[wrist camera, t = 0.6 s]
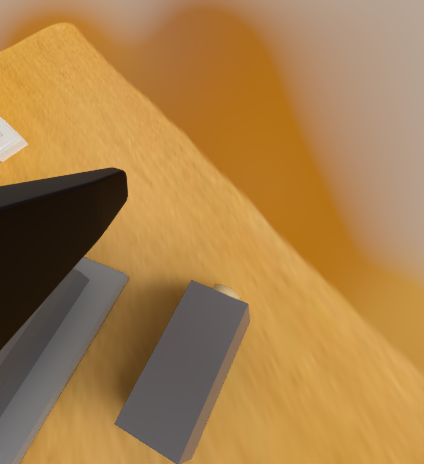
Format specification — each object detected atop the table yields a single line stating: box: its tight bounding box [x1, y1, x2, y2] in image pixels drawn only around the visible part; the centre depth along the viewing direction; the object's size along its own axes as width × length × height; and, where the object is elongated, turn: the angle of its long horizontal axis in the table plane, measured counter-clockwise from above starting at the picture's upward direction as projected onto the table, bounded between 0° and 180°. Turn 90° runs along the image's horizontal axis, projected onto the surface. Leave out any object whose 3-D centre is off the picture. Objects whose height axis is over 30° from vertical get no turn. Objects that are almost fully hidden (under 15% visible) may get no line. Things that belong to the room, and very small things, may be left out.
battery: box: [114, 280, 250, 464], centre depth 20 cm, size 10×4×4 cm, turn 154°
